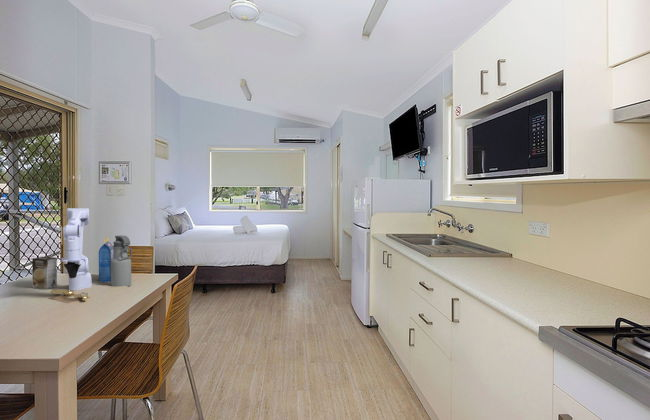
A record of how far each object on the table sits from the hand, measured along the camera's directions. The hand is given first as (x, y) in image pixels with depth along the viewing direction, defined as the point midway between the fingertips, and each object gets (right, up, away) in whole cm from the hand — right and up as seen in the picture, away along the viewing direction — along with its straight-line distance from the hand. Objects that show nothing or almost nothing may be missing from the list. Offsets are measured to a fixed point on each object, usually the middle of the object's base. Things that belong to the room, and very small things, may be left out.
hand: (72, 277), depth 167 cm
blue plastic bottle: (-9, -9, +39) cm, 41 cm away
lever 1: (-8, -9, +3) cm, 12 cm away
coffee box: (-30, -9, +21) cm, 38 cm away
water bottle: (+9, -10, +25) cm, 28 cm away
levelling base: (-1, -11, -2) cm, 11 cm away
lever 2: (+8, -9, -4) cm, 13 cm away
